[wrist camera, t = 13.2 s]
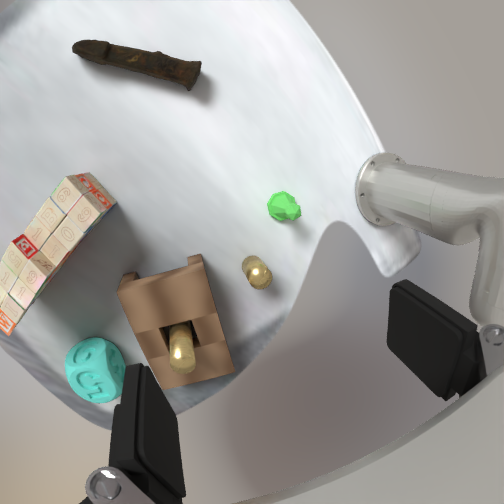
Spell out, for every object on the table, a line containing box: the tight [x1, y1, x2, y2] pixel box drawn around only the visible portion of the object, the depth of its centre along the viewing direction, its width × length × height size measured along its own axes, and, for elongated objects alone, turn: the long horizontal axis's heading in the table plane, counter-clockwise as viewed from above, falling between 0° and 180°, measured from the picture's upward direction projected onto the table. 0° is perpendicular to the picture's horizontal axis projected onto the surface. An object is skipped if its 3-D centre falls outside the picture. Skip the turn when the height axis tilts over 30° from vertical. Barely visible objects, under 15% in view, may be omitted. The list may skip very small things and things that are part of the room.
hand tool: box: [72, 40, 202, 91], centre depth 30 cm, size 19×4×5 cm, turn 67°
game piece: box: [267, 191, 301, 221], centre depth 41 cm, size 4×4×6 cm
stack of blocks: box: [0, 173, 117, 336], centre depth 31 cm, size 21×6×12 cm, turn 130°
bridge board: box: [117, 254, 235, 390], centre depth 42 cm, size 12×18×6 cm, turn 11°
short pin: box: [242, 256, 272, 289], centre depth 43 cm, size 3×3×5 cm
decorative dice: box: [65, 337, 126, 403], centre depth 41 cm, size 8×8×8 cm
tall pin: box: [169, 320, 196, 374], centre depth 40 cm, size 3×3×12 cm
